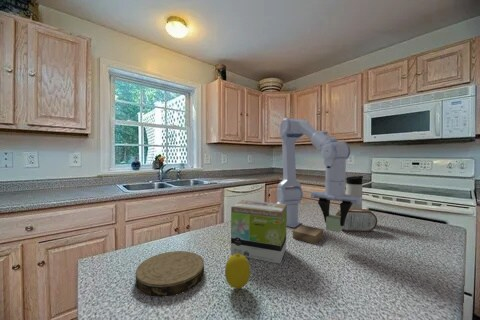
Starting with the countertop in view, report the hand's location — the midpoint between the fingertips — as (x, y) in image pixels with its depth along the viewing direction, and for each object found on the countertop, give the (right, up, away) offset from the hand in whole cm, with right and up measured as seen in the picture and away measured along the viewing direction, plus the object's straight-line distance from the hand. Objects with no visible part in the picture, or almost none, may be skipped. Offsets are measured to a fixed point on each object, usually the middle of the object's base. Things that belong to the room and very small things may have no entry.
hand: (334, 223), depth 70 cm
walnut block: (-5, -8, +10) cm, 14 cm away
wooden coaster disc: (-46, -9, -15) cm, 50 cm away
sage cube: (0, -2, 0) cm, 2 cm away
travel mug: (+20, -7, +28) cm, 35 cm away
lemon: (-30, -9, -20) cm, 38 cm away
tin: (+15, -8, +16) cm, 24 cm away
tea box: (-24, -8, -3) cm, 25 cm away
